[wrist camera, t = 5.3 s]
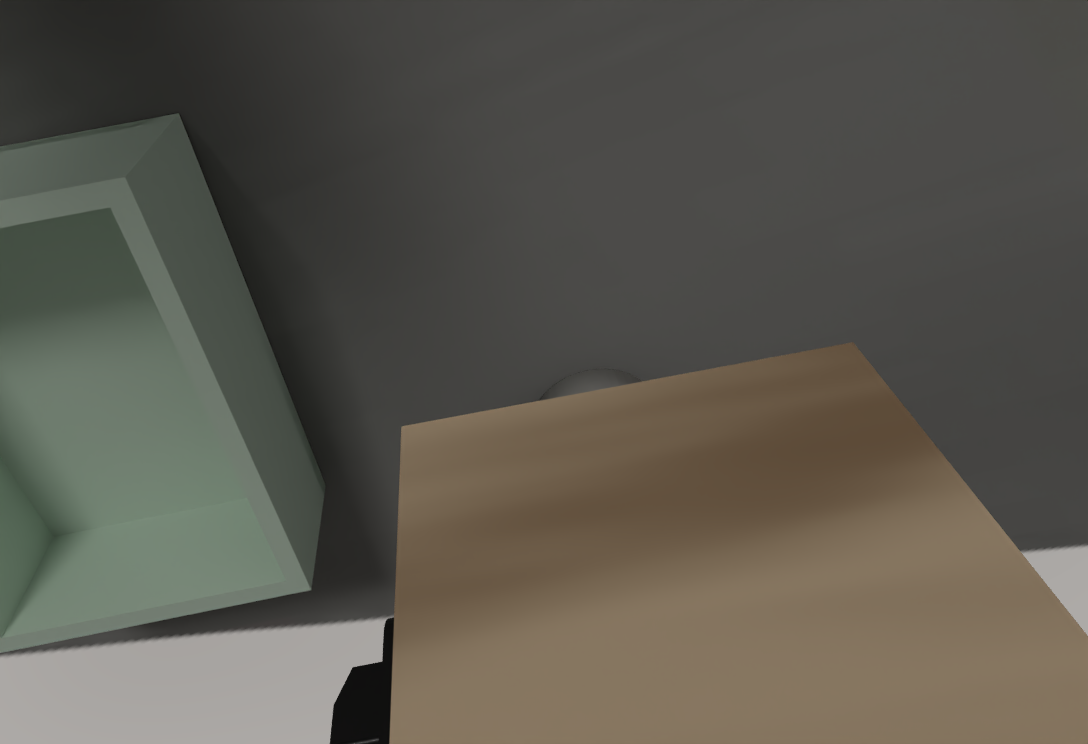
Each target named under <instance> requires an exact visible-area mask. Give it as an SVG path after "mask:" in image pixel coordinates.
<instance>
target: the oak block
mask: <svg viewBox="0 0 1088 744" xmlns="http://www.w3.org/2000/svg"><path fill="white" fill-rule="evenodd" d="M389 744H1088V636H1087V634H1086V633H1085V632H1084V631H1083V629H1082V628H1081V627H1080V626H1079V624H1078V623H1077V622H1076V621H1075V620H1074V618H1073V617H1072V616H1071V614H1070V613H1069V612H1068V611H1067V609H1066V608H1065V607H1064V606H1063V605H1062V603H1061V602H1060V601H1059V599H1058V598H1057V597H1056V596H1055V594H1054V593H1053V592H1052V591H1051V589H1050V588H1049V587H1048V586H1047V584H1046V583H1045V582H1044V581H1043V579H1042V578H1041V577H1040V576H1039V574H1038V573H1037V572H1036V571H1035V570H1034V568H1033V567H1032V566H1031V564H1030V563H1029V562H1028V561H1027V559H1026V558H1025V557H1024V556H1023V554H1022V553H1021V552H1020V551H1019V549H1018V548H1017V547H1016V546H1015V544H1014V543H1013V542H1012V541H1011V539H1010V538H1009V537H1008V536H1007V534H1006V533H1005V532H1004V531H1003V529H1002V528H1001V527H1000V526H999V524H998V523H997V522H996V521H995V519H994V518H993V517H992V516H991V514H990V513H989V512H988V511H987V509H986V508H985V507H984V506H983V504H982V503H981V502H980V501H979V499H978V498H977V497H976V496H975V494H974V493H973V492H972V491H971V489H970V488H969V487H968V486H967V484H966V483H965V482H964V481H963V479H962V478H961V477H960V476H959V474H958V473H957V472H956V471H955V469H954V468H953V467H952V466H951V464H950V463H949V462H948V461H947V459H946V458H945V457H944V456H943V454H942V453H941V452H940V451H939V449H938V448H937V447H936V446H935V444H934V443H933V442H932V441H931V439H930V438H929V437H928V436H927V434H926V433H925V432H924V431H923V429H922V428H921V427H920V426H919V424H918V423H917V422H916V421H915V419H914V418H913V417H912V416H911V414H910V413H909V412H908V411H907V409H906V408H905V407H904V406H903V404H902V403H901V402H900V401H899V399H898V398H897V397H896V396H895V394H894V393H893V392H892V391H891V389H890V388H889V387H888V386H887V384H886V383H885V382H884V381H883V379H882V378H881V377H880V376H879V374H878V373H877V372H876V371H875V369H874V368H873V367H872V366H871V364H870V363H869V362H868V361H867V359H866V358H865V357H864V356H863V354H862V353H861V352H860V351H859V349H858V348H857V347H856V346H855V344H854V343H853V342H852V343H847V344H841V345H836V346H831V347H825V348H820V349H815V350H809V351H804V352H799V353H793V354H788V355H783V356H777V357H772V358H766V359H761V360H756V361H750V362H745V363H740V364H734V365H729V366H724V367H718V368H713V369H707V370H702V371H697V372H691V373H686V374H681V375H675V376H670V377H665V378H659V379H654V380H648V381H643V382H638V383H632V384H627V385H622V386H616V387H611V388H606V389H600V390H595V391H589V392H584V393H579V394H573V395H568V396H563V397H557V398H552V399H547V400H541V401H536V402H531V403H525V404H520V405H514V406H509V407H504V408H498V409H493V410H488V411H482V412H477V413H472V414H466V415H461V416H455V417H450V418H445V419H439V420H434V421H429V422H423V423H418V424H413V425H407V426H402V429H401V455H400V481H399V507H398V533H397V559H396V585H395V611H394V637H393V663H392V689H391V715H390V741H389Z"/></svg>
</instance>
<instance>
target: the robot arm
mask: <svg viewBox="0 0 1088 744" xmlns="http://www.w3.org/2000/svg"><path fill="white" fill-rule="evenodd" d="M393 637H394V618H389V619H387V620H386V623H385V627H384V642H383V661H382V662H378V663H373V664H368V665H363V666H358V667H353V668H352V670H351V672H350V674H349V676H348V678H347V680H346V682H345V684H344V686H343V688H342V690H341V692H340V694H339V696H338V698H337V700H336V702H335V704H334V708H333V719H332V728H331V738H330V744H389V741H390V715H391V689H392V663H393Z"/></svg>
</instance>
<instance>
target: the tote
mask: <svg viewBox="0 0 1088 744" xmlns="http://www.w3.org/2000/svg"><path fill="white" fill-rule="evenodd" d="M325 487H326V485H325V482H324V480H323V477H322V475H321V472H320V469H319V467H318V464H317V462H316V459H315V457H314V454H313V452H312V449H311V447H310V444H309V442H308V439H307V437H306V434H305V432H304V429H303V426H302V424H301V421H300V419H299V416H298V414H297V411H296V409H295V406H294V404H293V401H292V399H291V396H290V394H289V391H288V388H287V386H286V383H285V381H284V378H283V376H282V373H281V371H280V368H279V366H278V363H277V361H276V358H275V356H274V353H273V351H272V348H271V345H270V343H269V340H268V338H267V335H266V333H265V330H264V328H263V325H262V323H261V320H260V318H259V315H258V313H257V310H256V307H255V305H254V302H253V300H252V297H251V295H250V292H249V290H248V287H247V285H246V282H245V280H244V277H243V275H242V272H241V269H240V267H239V264H238V262H237V259H236V257H235V254H234V252H233V249H232V247H231V244H230V242H229V239H228V237H227V234H226V232H225V229H224V226H223V224H222V221H221V219H220V216H219V214H218V211H217V209H216V206H215V204H214V201H213V199H212V196H211V194H210V191H209V188H208V186H207V183H206V181H205V178H204V176H203V173H202V171H201V168H200V166H199V163H198V161H197V158H196V156H195V153H194V151H193V148H192V145H191V143H190V140H189V138H188V135H187V133H186V130H185V128H184V125H183V123H182V120H181V118H180V115H179V113H177V114H171V115H166V116H161V117H155V118H150V119H145V120H139V121H134V122H129V123H123V124H118V125H113V126H107V127H102V128H97V129H91V130H86V131H81V132H75V133H70V134H65V135H59V136H54V137H49V138H43V139H38V140H33V141H27V142H22V143H17V144H11V145H6V146H1V147H0V653H2V652H7V651H12V650H17V649H22V648H27V647H32V646H37V645H42V644H47V643H52V642H57V641H62V640H67V639H71V638H76V637H81V636H86V635H91V634H96V633H101V632H106V631H111V630H116V629H121V628H126V627H131V626H136V625H141V624H146V623H151V622H156V621H161V620H165V619H170V618H175V617H180V616H185V615H190V614H195V613H200V612H205V611H210V610H215V609H220V608H225V607H230V606H235V605H240V604H245V603H250V602H255V601H259V600H264V599H269V598H274V597H279V596H284V595H289V594H294V593H299V592H304V591H309V590H311V588H312V580H313V573H314V566H315V559H316V552H317V544H318V537H319V530H320V523H321V516H322V508H323V501H324V494H325Z"/></svg>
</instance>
